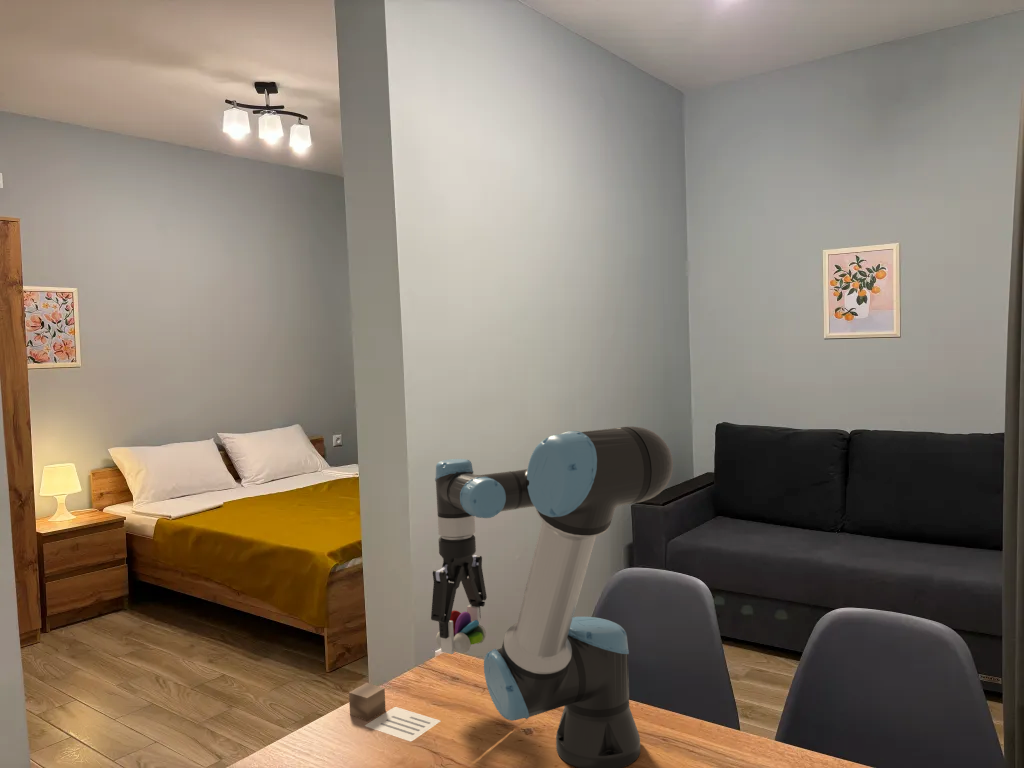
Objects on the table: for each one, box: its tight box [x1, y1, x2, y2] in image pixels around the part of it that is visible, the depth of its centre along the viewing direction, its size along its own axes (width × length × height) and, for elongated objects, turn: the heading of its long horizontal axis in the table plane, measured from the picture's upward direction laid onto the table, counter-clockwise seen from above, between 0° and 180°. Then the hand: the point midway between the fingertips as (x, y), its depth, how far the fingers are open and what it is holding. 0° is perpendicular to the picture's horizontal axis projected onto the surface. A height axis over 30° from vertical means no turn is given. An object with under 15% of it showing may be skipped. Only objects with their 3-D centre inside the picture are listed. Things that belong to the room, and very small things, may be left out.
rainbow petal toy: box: [435, 609, 487, 654], centre depth 155 cm, size 8×10×7 cm
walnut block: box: [348, 682, 386, 722], centre depth 152 cm, size 5×5×5 cm
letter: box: [364, 706, 441, 742], centre depth 148 cm, size 12×9×1 cm
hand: (461, 644), depth 155 cm, fingers closed on rainbow petal toy, 8 cm apart
